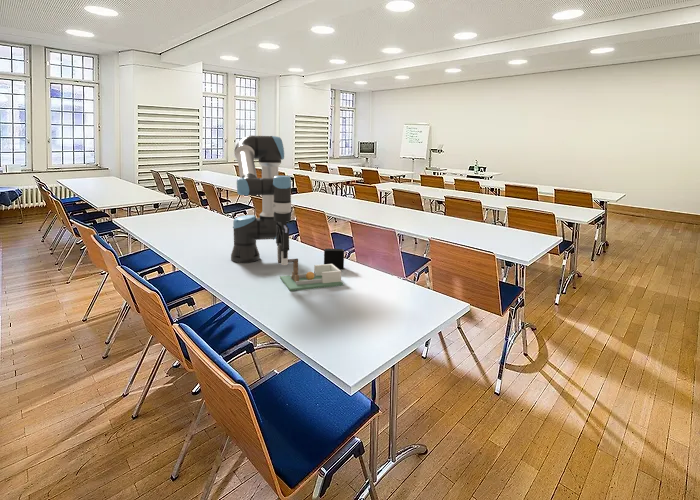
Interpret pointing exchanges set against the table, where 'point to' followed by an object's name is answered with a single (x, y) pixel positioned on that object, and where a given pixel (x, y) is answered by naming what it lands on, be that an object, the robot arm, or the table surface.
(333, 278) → the pitch
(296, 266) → the striker
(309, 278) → the ball
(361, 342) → the table surface
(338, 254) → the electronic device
